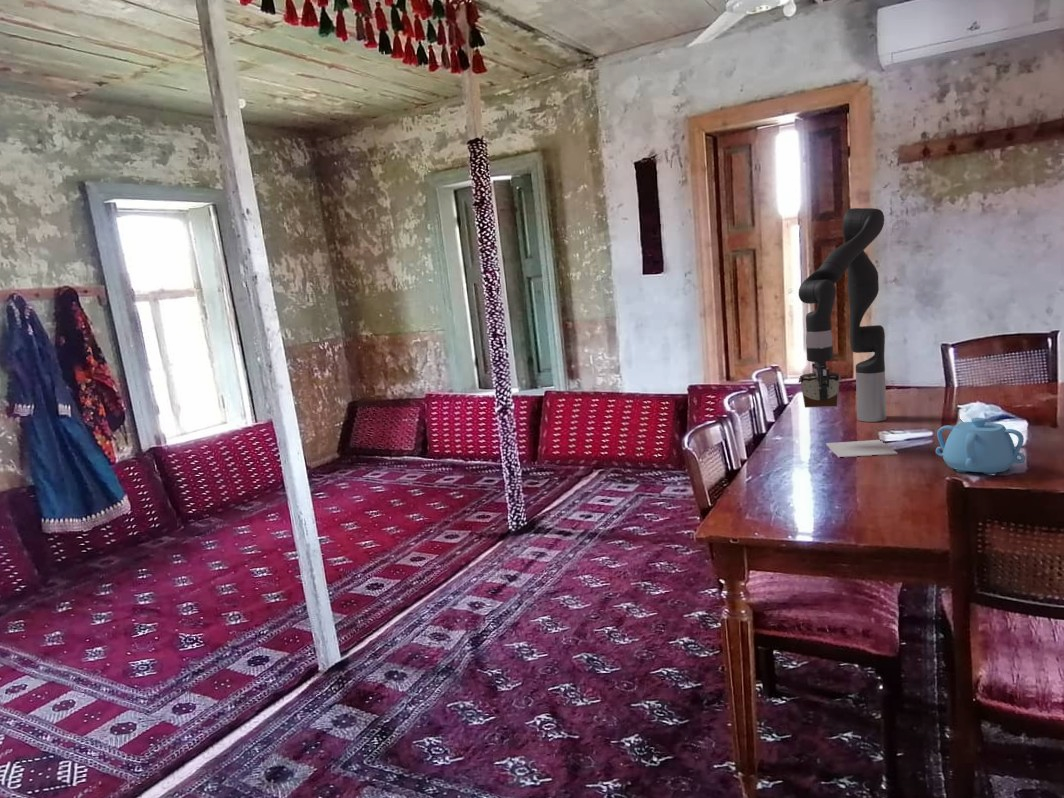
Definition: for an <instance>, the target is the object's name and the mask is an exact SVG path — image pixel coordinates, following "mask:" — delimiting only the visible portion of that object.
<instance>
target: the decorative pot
mask: <svg viewBox="0 0 1064 798" xmlns="http://www.w3.org/2000/svg"><path fill="white" fill-rule="evenodd" d="M944 430H949V431H951V432H950V433H949V435H948V437H947V439H946V441H945V440H944V437H943V431H944ZM1010 434H1012V435H1015V436H1016V437H1017V444H1016V447H1015V444H1014V441H1013V439H1012V437H1011V435H1010ZM936 436H937V439H938V443H939V444H940V446H938V447H936V449H935V454H936V455H937V456H939V457H942V458H943V460H944V462H945V464H946V465H947V467H949V468H951V469H955V472H957V473H967V472H974V473H983V474H984V475H985V474H990V475H989V476H992V475H991V474H996V475H997V473H1003V472H1005V471H1008V469H1010V467H1012V465H1013V464H1014V463H1015V464H1023V463H1024V462H1025V461H1026V455H1025V454H1024V453H1022V452H1020V451H1021V449H1022V447H1023V445H1024V440H1025V438H1024V435H1023V434H1022V433H1021V432H1020V430H1017V429H1013V428H1008V429H1007V428H1006V427H1005V425H1003V424H1002V423H996V422H990V421H987V418H984V417H973V418H971V419H970V421H964V422H959V423H957V424H956V425H950V424H949V425H948V424H947V425H943V426H941V427H940V428H939V429H938V430H937V432H936ZM940 450H942V452H941V451H940ZM1018 457H1020V458H1018Z"/></svg>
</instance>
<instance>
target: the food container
mask: <svg viewBox="0 0 1064 798" xmlns="http://www.w3.org/2000/svg"><path fill="white" fill-rule="evenodd" d="M818 378H819V379H820V377H818ZM840 382H842V377H841V375H840V373H839V372H831V371H829V388H828V389H827V394H828V400H827V401H821V400H820V396H819V384H818V382H817V381H816V376H813V372H812V373H810V372H809V373H804V374H802V375H799V378H798V383H800V385H801V392H802V397H803V405H804V408H806V409H807V408H837V407H838V404H839V392H840ZM822 384H825V381H823V382H822Z"/></svg>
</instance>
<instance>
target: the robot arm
mask: <svg viewBox="0 0 1064 798" xmlns="http://www.w3.org/2000/svg"><path fill="white" fill-rule="evenodd" d="M884 225H885V215H884V212H883V211H882V210H881V209H880V208H869V207H868V208H865V207H863V208H860V207H859V208H858V207H857V208H856V207H854V208H852V207H851V208H849V209H847V210H846V211H845V213H844V215H843V218H842V234H843V236H842V237H843V241H844V243H843V244H841V245H840V246H838V247H837V248H835V249H833V250H832V251H831V252H830V253H828V255H827V256H826V258H825V259H824V261H823V262H822V264H821V265H820V266H819V268H818V269H815V271H813V272H812V273H811V274H810V275H809V276H808V277H806V279H804V280H803V282H802V283H801V284H800V286H799V289H798V298H799V300H800V301H801V302H802V303H804V304H807V305H810V304H813V305H814V304H817V308H816V310H814V311H811V312H808V313H807V314H806V316H805V328H806V329H805V330H806V334H805V335H806V336H805V340H806V341H805V345H806V360H807V361H808V362H811V363H812V365H811V366H812V373H813V376H816V381H817V382H818V384H819V396H820V400H821V401H827V400H828V394H827V389H828V388H829V372H830V368H829V366H827V362H829V361H832V360H833V359H834V347H833V345H834V341H833V335H832V334H833V333H832V320H831V319H832V318H831V316H832V312H833V309H834V308H833V307H834V304H835V299H836V295H837V291H836V290H837V289H836V286H835V284H837V283H838V282H839V281H840V280H841V279H842V277H843V276H844V274H845V273H846V271H847V291H848V300H849V345H850V349H851V351H852V353H855V354H856V353H857V354H858V353H859V354H862V353H864V354H865V353H874V354H873V355H872V356H871V357H869V358H868V359H865V360H863V361H860V362H858V363H857V364H855V385H856V386H855V388H856V389H855V390H856V391H855V392H856V416H857V418H856V419H857V420H858V421H861V422H868V423H871V422H873V423H875V422H883V421H885V420H887V394H886V390H887V389H886V365H885V364H886V363H885V349H886V346H885V345H886V343H885V342H886V338H885V337H886V334H885V329H884V327H883V326H882V325H880V324H879V325H876V324H875V325H862V326H861V323H862V321H863V318H864V316H865V314H866V312H867V311H868V309H869V308H870V307H871V305H872V304H873V303H874V301H875V300H876V298H877V297H878V295H879V290H880V288H879V286H880V285H879V272H878V270H877V268H876V266H875V265H874V263H873V262H872V260H871V259H870V258H869V256H868V255H867V253H866V252H865V249H867V248H868V246H869V245H870V244H871V243H872V242H874V240H875V239H876V238H877V237H878V236H879V235H880V234H881V232H882V231H883V228H884ZM818 377H820V379H819V378H818ZM823 381H825V384H822V382H823Z"/></svg>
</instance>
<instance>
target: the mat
mask: <svg viewBox="0 0 1064 798" xmlns="http://www.w3.org/2000/svg"><path fill="white" fill-rule="evenodd" d="M880 440H881V439H870V440H857V441H841V442H840V441H839V442H825V446H827V448H829V449H830V450H831V451H832V452H833V453H834V455H836V456H837V458H839V459H840V457H844V458H857V456H861V457H873V456H872V455H878V456H890V455H891V456H892V455H895V456H896V455H898V452H897V451H896V450H894V449H893V448H892V447H890V446H889V445H888V444H886V443H885V442H884V441H883V440H881V441H880ZM883 442H884V443H883Z"/></svg>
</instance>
